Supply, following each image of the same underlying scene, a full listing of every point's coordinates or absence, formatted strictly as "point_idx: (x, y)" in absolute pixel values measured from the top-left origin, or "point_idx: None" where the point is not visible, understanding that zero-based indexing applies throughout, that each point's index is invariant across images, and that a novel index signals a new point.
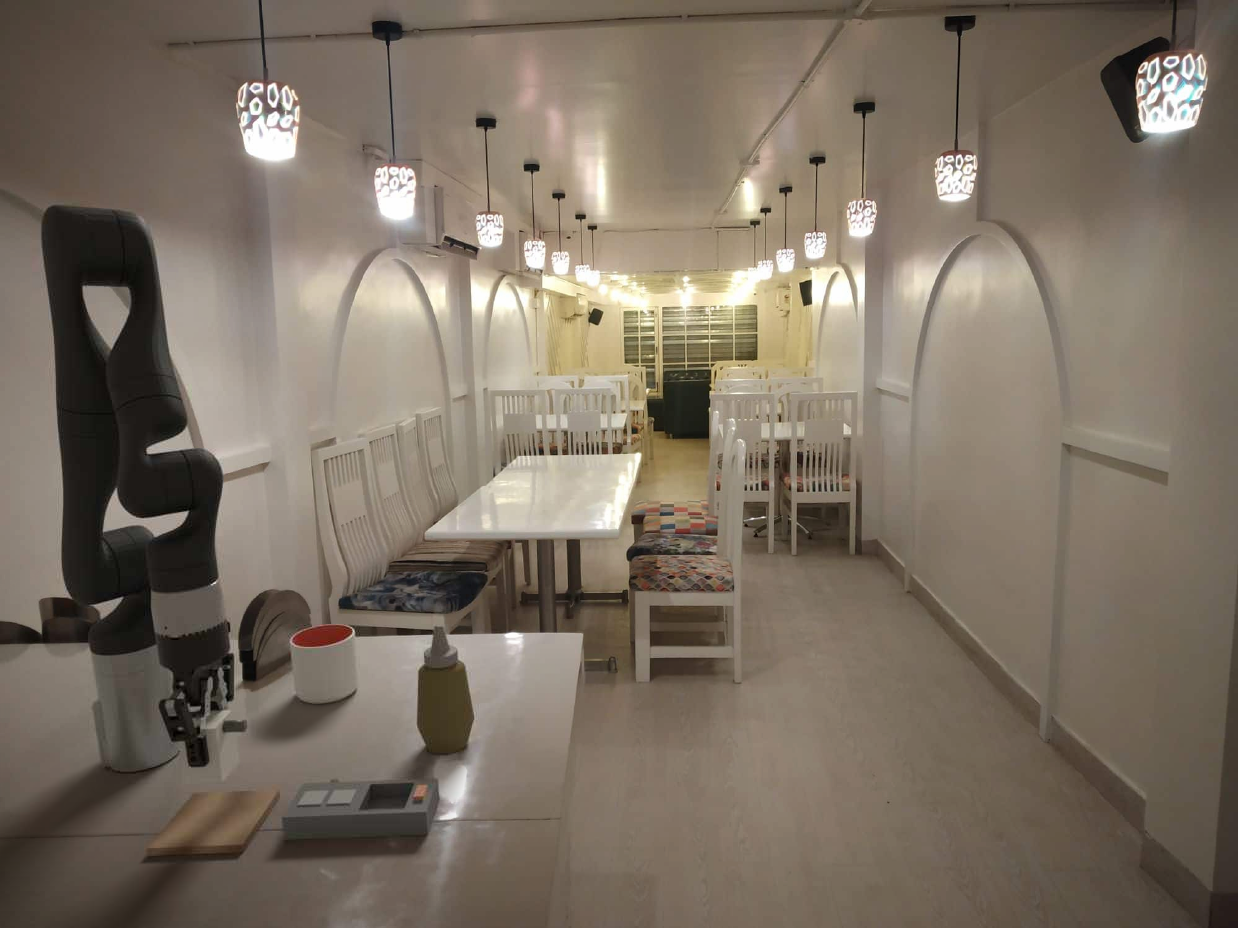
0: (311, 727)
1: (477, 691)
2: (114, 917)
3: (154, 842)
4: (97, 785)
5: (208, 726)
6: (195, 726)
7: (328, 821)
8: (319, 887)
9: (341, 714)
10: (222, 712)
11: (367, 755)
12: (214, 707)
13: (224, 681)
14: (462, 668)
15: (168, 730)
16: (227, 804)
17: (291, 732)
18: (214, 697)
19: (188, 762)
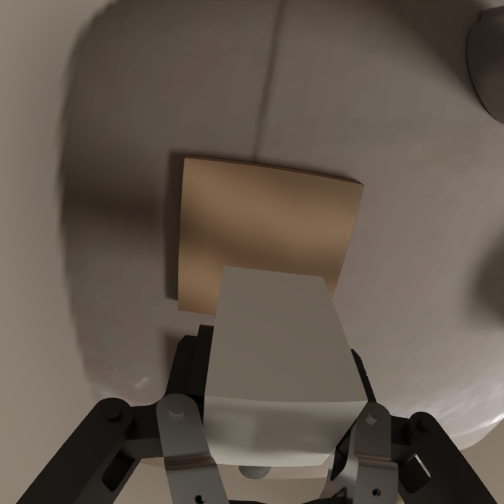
0: (483, 305)
1: (442, 426)
2: (59, 175)
3: (201, 164)
4: (438, 5)
5: (216, 452)
6: (226, 431)
7: None
8: (121, 376)
9: (489, 330)
10: (314, 455)
11: (379, 384)
12: (348, 445)
13: (413, 494)
14: None
15: (69, 441)
16: (301, 259)
17: (486, 283)
18: (327, 496)
19: (179, 342)
